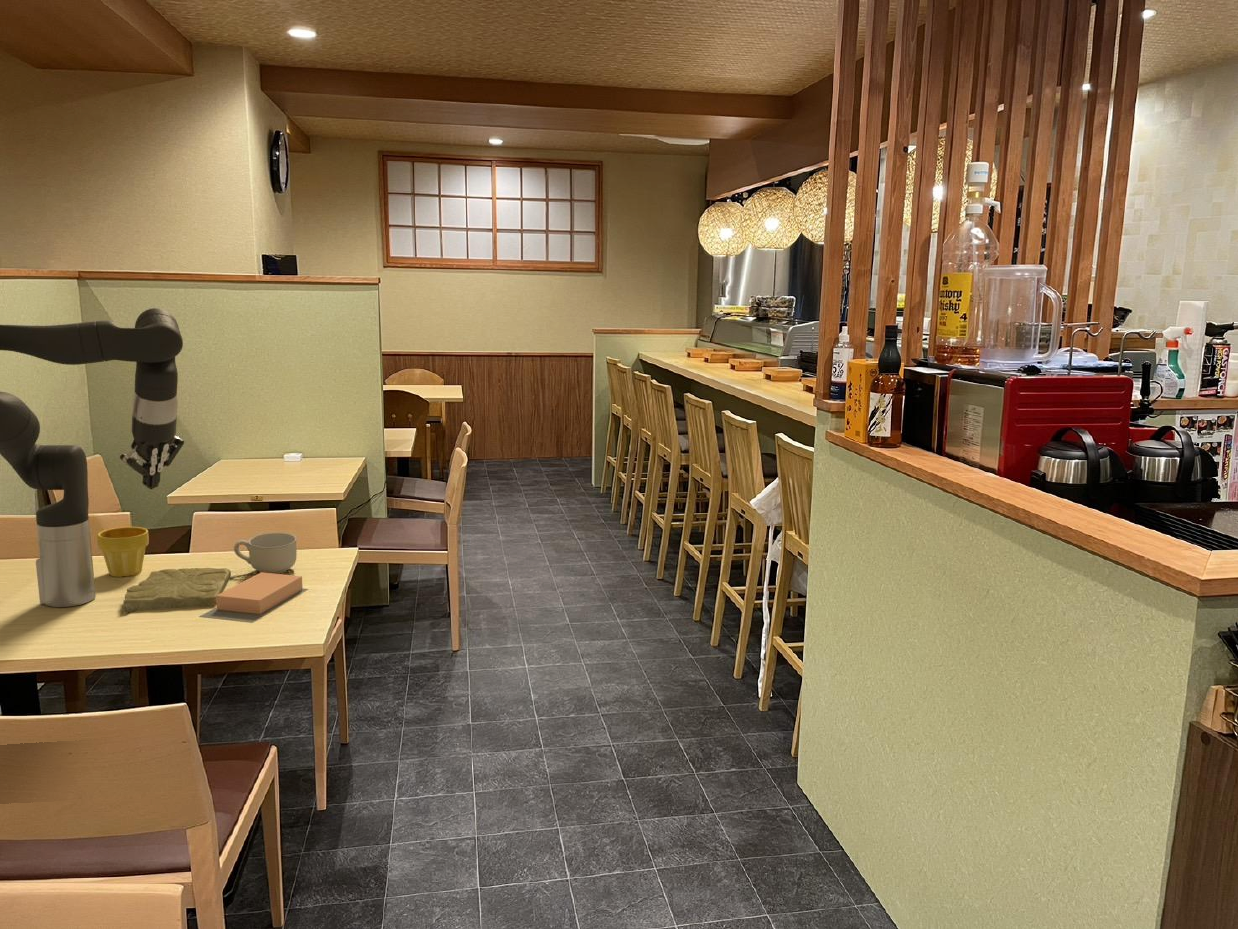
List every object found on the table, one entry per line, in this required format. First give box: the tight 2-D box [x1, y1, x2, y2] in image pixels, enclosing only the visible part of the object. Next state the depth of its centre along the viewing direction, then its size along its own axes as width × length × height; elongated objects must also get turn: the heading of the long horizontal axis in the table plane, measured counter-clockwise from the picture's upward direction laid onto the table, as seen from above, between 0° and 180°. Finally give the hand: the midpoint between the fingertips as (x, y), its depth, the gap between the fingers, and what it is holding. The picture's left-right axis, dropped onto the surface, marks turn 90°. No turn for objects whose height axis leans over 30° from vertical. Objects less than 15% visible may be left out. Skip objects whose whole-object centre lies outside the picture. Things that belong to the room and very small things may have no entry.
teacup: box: [233, 532, 298, 574], centre depth 210 cm, size 14×11×8 cm
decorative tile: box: [122, 567, 232, 613], centre depth 193 cm, size 19×20×4 cm
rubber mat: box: [199, 588, 309, 624], centre depth 189 cm, size 12×21×1 cm, turn 169°
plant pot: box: [96, 526, 150, 578], centre depth 206 cm, size 10×10×10 cm
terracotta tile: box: [216, 572, 304, 614], centre depth 191 cm, size 10×3×16 cm
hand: (151, 486), depth 176 cm, fingers closed
